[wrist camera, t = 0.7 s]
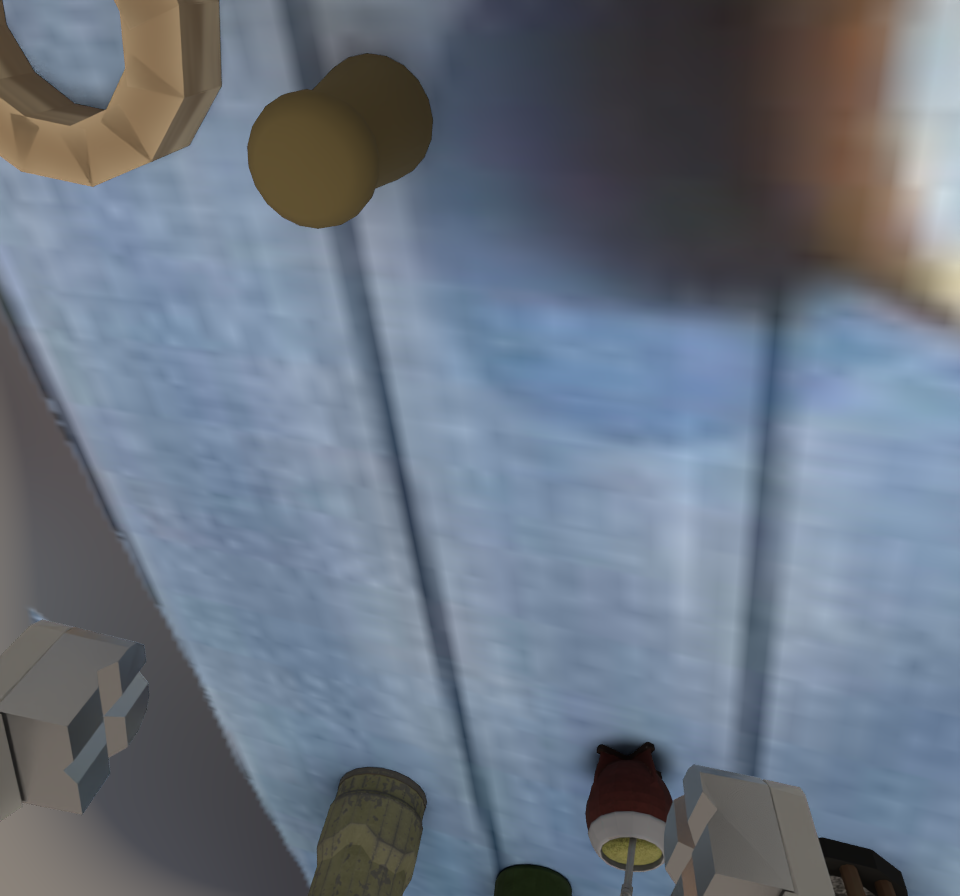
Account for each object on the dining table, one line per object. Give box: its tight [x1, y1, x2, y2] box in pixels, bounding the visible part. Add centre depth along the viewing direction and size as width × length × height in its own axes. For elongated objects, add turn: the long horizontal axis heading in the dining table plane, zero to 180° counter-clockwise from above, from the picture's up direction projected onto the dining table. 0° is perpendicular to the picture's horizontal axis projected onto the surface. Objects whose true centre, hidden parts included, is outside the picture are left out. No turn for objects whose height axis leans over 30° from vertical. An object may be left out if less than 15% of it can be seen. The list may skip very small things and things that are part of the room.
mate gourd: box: [585, 742, 673, 896], centre depth 56 cm, size 8×8×15 cm
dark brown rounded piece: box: [247, 53, 433, 229], centre depth 33 cm, size 6×6×11 cm
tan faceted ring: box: [0, 0, 222, 187], centre depth 35 cm, size 14×14×4 cm
